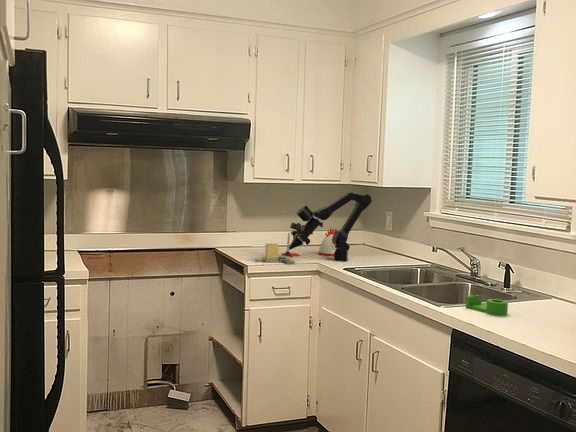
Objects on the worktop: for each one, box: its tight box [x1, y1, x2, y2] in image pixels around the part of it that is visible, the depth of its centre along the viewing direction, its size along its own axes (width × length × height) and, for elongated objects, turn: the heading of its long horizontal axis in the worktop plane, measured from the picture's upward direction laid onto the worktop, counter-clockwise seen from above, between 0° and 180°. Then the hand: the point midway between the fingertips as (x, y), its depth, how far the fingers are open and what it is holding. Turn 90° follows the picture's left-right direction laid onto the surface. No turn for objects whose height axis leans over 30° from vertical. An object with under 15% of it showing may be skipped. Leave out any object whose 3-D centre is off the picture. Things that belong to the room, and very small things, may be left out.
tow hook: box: [281, 232, 300, 258], centre depth 354 cm, size 8×13×9 cm
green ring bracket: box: [465, 294, 509, 317], centre depth 230 cm, size 15×7×5 cm, turn 33°
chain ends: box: [254, 256, 296, 265], centre depth 327 cm, size 18×15×2 cm
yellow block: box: [264, 243, 280, 261], centre depth 330 cm, size 6×4×9 cm, turn 105°
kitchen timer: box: [318, 228, 337, 257], centre depth 360 cm, size 14×14×15 cm
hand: (289, 248), depth 332 cm, fingers closed
